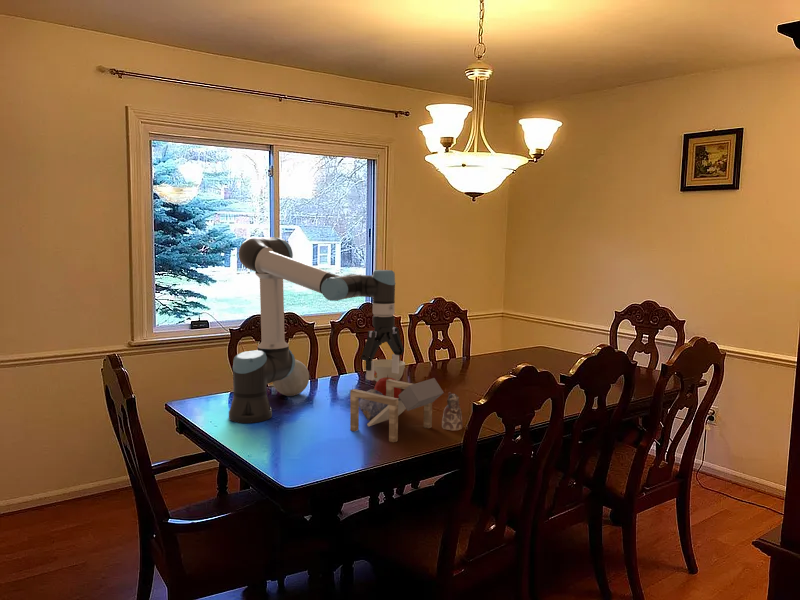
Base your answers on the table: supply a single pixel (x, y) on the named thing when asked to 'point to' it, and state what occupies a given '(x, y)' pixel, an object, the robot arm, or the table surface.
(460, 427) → the figurine
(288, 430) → the table surface
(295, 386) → the decorative sphere
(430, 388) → the trapdoor
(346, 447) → the table surface
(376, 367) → the bowl
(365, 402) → the rock
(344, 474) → the table surface
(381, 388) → the apple
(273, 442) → the table surface
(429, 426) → the frame
